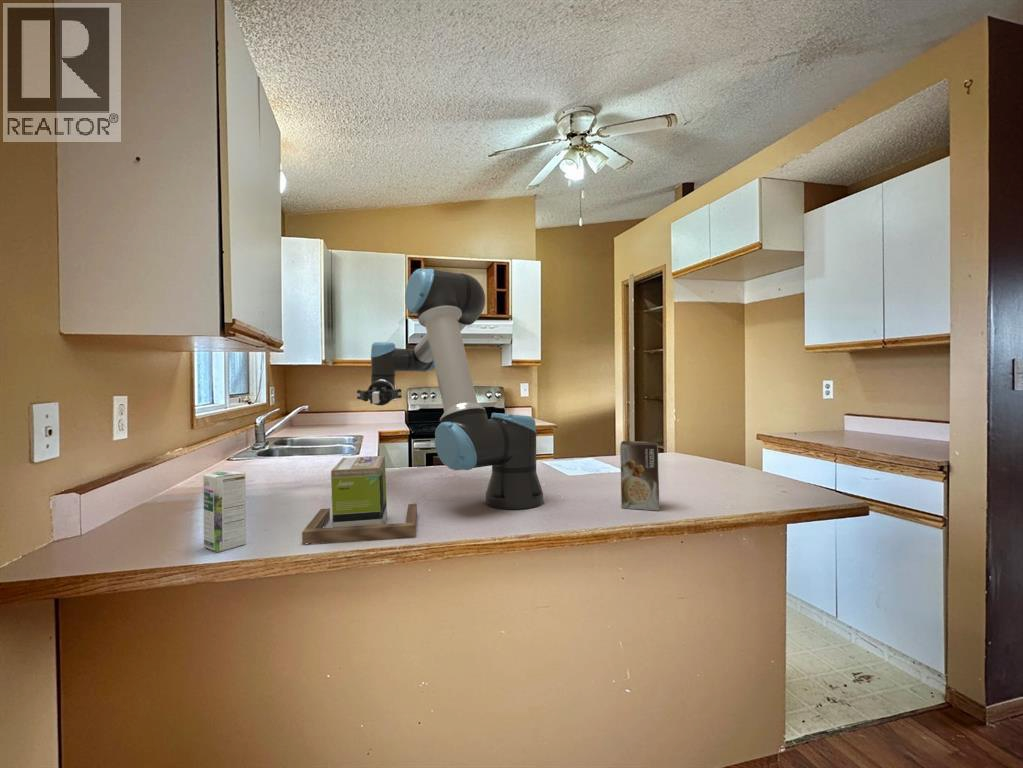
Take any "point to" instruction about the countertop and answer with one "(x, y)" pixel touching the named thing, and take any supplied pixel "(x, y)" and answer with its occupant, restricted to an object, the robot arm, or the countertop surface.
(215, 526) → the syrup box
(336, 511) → the tea box
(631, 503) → the coffee box
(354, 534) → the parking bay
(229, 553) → the countertop surface
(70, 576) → the countertop surface
